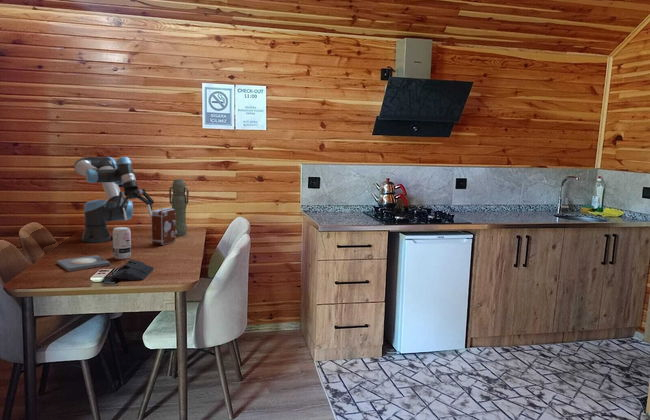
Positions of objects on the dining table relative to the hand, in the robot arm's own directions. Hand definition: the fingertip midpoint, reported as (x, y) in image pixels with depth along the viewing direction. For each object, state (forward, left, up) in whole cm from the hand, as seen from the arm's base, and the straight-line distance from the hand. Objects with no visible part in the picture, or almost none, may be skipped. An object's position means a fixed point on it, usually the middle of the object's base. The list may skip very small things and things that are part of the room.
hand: (138, 217), depth 262 cm
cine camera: (-2, +17, -16) cm, 23 cm away
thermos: (-18, +33, -16) cm, 41 cm away
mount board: (+23, -36, -16) cm, 46 cm away
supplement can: (+20, -17, -16) cm, 31 cm away
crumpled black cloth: (+52, -25, -17) cm, 60 cm away
